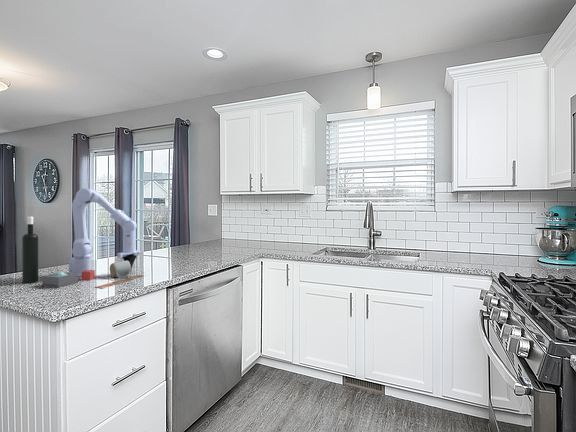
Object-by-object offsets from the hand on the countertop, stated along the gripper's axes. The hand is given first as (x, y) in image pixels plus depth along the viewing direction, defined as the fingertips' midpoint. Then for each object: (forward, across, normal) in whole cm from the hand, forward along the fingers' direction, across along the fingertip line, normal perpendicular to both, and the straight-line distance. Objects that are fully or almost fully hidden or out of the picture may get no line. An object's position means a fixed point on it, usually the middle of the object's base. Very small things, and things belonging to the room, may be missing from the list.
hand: (129, 269), depth 170 cm
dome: (+1, -29, +12) cm, 31 cm away
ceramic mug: (+3, -7, -1) cm, 7 cm away
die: (+2, -17, +9) cm, 19 cm away
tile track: (+2, -15, -8) cm, 17 cm away
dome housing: (+2, -29, +12) cm, 31 cm away
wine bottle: (+3, -30, +28) cm, 41 cm away
